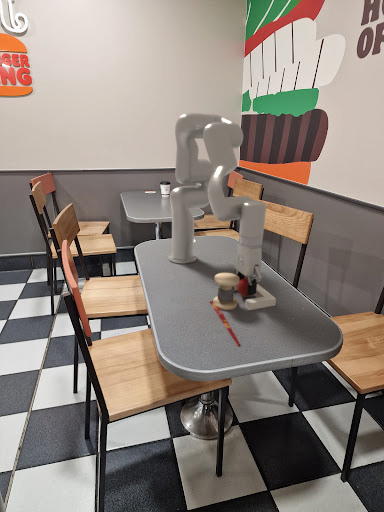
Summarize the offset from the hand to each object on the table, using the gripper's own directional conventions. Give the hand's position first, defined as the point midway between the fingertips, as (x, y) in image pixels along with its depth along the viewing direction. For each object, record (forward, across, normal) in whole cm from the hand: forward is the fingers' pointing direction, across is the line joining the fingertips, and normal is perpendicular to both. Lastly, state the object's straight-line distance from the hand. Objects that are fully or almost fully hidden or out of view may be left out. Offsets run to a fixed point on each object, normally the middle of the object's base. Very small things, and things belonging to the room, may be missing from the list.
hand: (245, 288), depth 108 cm
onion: (+3, 0, 0) cm, 3 cm away
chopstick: (+4, +12, -13) cm, 18 cm away
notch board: (+3, 0, +2) cm, 4 cm away
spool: (+3, +2, -8) cm, 9 cm away
